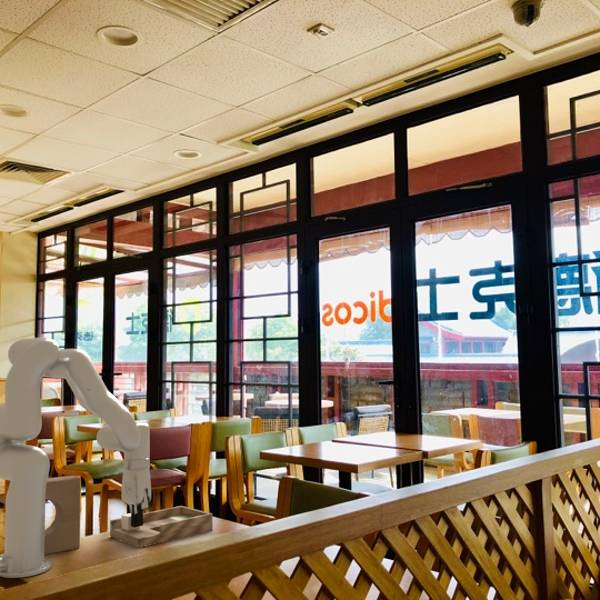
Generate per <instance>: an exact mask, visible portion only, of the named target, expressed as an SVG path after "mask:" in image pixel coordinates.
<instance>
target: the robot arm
mask: <svg viewBox="0 0 600 600" xmlns="http://www.w3.org/2000/svg"><path fill="white" fill-rule="evenodd" d="M7 357H8V360H9V363H10V364H11V367H10V369H9V371H8V373H7V376H6V379H5V384H4V385H5V386H4V404H3V403H2V404H1V405H0V479H2V480H6V481H10V482H9V486H8V489H7V494H6V498H5V510H4V511H5V521H4V523H5V524H4V527H5V528H4V553H1V554H0V577H2V578H7V579H15V578H16V579H19V578H27V577H31V576H32V577H33V576H36V575H40V574H42V573H45V572H46V571H48V570H49V569H50V568H51V561H50V560H48V559H46V558H45V555H44V547H45V530H46V500H45V495H46V484H47V479H48V478H49V472H50V467H51V465H50V464H51V463H50V459H49V455H48V454H47V452H46V451H44V449H42V448H41V447H37V446H36V445H35V446H34V445H31V444H30V445H28V444H25V442H26V441H31V440H34V439H35V438H37V437H38V435H40V432H42V431H41V430H42V428H43V427H42V425H43V421H42V419H43V418H42V405H41V404H42V403H41V383H42V380H43V378H44V377H48V378H53V379H65V380H66V382H67V384H68V386H69V387H70V390H71V392H73V395H74V396H75V398H76V400H77V401H78V404H79V405H80V406H81V407H82V408H83V409H84V410H86V411H87V412H89V413H91V414H92V415H94V416H96V417H98V418H100V419H101V420H102V421H103V422H105V424H106V425H104V426H102V427H101V428H100V429H99V430H98V432H97V434H96V443H97V445H98V446H100V447H101V449H104V450H108V451H114V452H115V451H116V452H123V453H124V454H123V455H124V456H123V457H124V460H123V461H124V463H123V465H124V466H123V472H122V480H121V500H122V502H124V503H126V504H127V505H128V507H129V512H130V513H131V526H132V527H139V526H143V514H144V513H145V509H148V508H149V503H150V502H151V500H152V484H151V483H152V482H151V472H150V469H151V468H150V467H151V463H150V462H151V459H150V455H151V454H150V448H151V447H150V446H151V444H150V443H151V439H150V437H151V436H150V435H151V434H150V433H151V432H150V431H151V430H150V428H151V427H150V425H149V423H147V422H136V420H135V418H134V416H133V415H132V413H131V412H130V411H129V410H128V408H127V407H126V406H125V405H124V404H123V403H122V402H121V401H119V399H118V398H117V397H116V396H115V395H114V394H113V393H111V392H110V391H109V389H108V388H107V386H106V384H105V382H104V381H103V379H102V377H101V376H100V373H99V371H98V369H97V368H96V366H95V364H94V362H93V361H92V359H91V357H90V356H89V354H88V353H87V352H86V351H85V350H82V349H79V348H60V346H59V344H58V343H57V341H56V340H54V339H53V338H49V337H34V338H33V337H32V338H22V339H18V340H16V341H14V342H13V343H12V344H11V345H10V347H9V349H8V353H7Z"/></svg>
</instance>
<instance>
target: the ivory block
mask: <svg viewBox="0 0 600 600" xmlns="http://www.w3.org/2000/svg"><path fill="white" fill-rule="evenodd" d="M121 518H122V529H125V530H128V531H129V530H133V529H138V528H140V526H139V527H132V526H131V512H130V513H129V512H128V513H124V514H121Z"/></svg>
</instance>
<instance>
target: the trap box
mask: <svg viewBox="0 0 600 600" xmlns="http://www.w3.org/2000/svg"><path fill="white" fill-rule="evenodd" d="M109 521H110V522H109V537H110V536H111V537H113V538H112V539H114V538H116V539H115V540H117V539H118V540H117V541H119V540H121V541H120V542H122V541H124V542H123V543H125V542H126V543H125V544H127V543H129V544H128V545H130V544H131V545H130V546H133V545H135V546H134V547H136V546H139V547H141V546H145V545H149V544H154V543H158V544H161V543H160V542H162V543H165V541H166V542H170V541H173V539H174V540H178V539H182V538H186V537H189V535H191V536H193V535H194V534H195V535H198V534H202V533H206V532H211V531H213V530H214V529H213V523H214V522H213V513H212V512H207V511H203V510H199V509H195V508H192V507H188V506H183V505H179V506H175V507H170V508H164V509H158V510H155V511H149V512H143V526H140V528H138V529H133V530H129V531H128V530H125V529H122V517H120V518H115V519H110V520H109ZM185 536H186V537H185ZM111 537H110V538H111ZM177 538H178V539H177ZM169 540H170V541H169ZM154 545H155V544H154ZM149 546H150V545H149ZM145 547H146V546H145ZM141 548H142V547H141Z"/></svg>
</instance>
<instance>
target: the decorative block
mask: <svg viewBox="0 0 600 600" xmlns="http://www.w3.org/2000/svg"><path fill="white" fill-rule="evenodd" d="M81 483H82V482H81V478H80V476H77V475H73V474H72V475H65V476H57V477H48V479H47V484H46V495H45V501H49V502H51V504H52V505H53V506H54V508H55V509H54V510H55V516H54V520H53V521H52V523H51V524H50V525H49V526H48V527H46V528H45V547H44V556H47V555H52V554H56V553H63V552H67V550H68V551H71V550H72V549H73V550H76V549H79V548H80V547H81V546H80V544H81V543H80V542H81V486H82V485H81ZM73 550H72V551H73Z"/></svg>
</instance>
